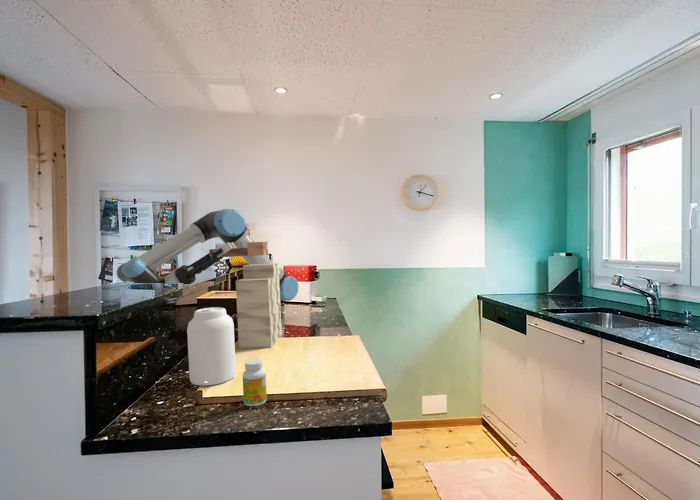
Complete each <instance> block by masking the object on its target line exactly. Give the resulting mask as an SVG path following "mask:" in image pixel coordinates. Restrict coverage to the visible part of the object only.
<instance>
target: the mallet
mask: <svg viewBox="0 0 700 500" xmlns="http://www.w3.org/2000/svg"><path fill="white" fill-rule="evenodd" d="M268 246H269V244H268V241H254V242H247V248H233V249H231V250H229V251H228V252H226V253H225V254H223V255H222V256H220V257H223V258H225V257H226V258H228V257H229V258H230V257H231V258H232V257H242V256H259V255H266V256H268V255H269V247H268ZM217 249H218V248H216V249H215V248H212V249H208V251H209V253H212V252H214V251H215V250H217ZM216 257H217V256H216Z"/></svg>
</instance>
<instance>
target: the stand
mask: <svg viewBox="0 0 700 500" xmlns="http://www.w3.org/2000/svg"><path fill="white" fill-rule="evenodd" d="M279 269H280V265H279V262H278V263H277V262H276V263H275V262H272V264H244V265H242V272H243V274H242V275H243V278H240V279H238V280H237V279H236V280H235V290H236V291H235V293H236V313H237V314H236V315H237V332H238V333H237V335H238V336H237V337H238V349H264V348H265V349H266V348H267V349H269V348H272V347H273V346H274V345H275V344H276V343H277V342H278V341H279V339H280V338H281V337H282V336H283V331H282V329H283V328H282V319H281V309H282V307H281V300H280V284H279Z"/></svg>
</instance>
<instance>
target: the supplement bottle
mask: <svg viewBox="0 0 700 500" xmlns="http://www.w3.org/2000/svg"><path fill="white" fill-rule="evenodd" d="M266 374H267V372H266V370H265V369H264V368H263V361H262V359H258V358H256V359H255V358H254V359H249V360H247V361H245V362H244V371H243V372H242V392H243V393H242V397H243V404H244V405H245V406H247V407H257V406H261V405H264V404H265V403H266V402H267V396H268V395H267V394H268V393H267V377H266Z"/></svg>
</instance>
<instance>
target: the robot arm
mask: <svg viewBox="0 0 700 500" xmlns="http://www.w3.org/2000/svg"><path fill="white" fill-rule="evenodd" d="M214 238H220V239H221V240H222V241H223V243H224V244H223V245H221V246H219V248H216V249H217V250H215V251H214V252H212V253H207V254H205V255H204V256H202V257H201V258H199V259H198V260H196V261H194V262H192V263H190V264H189V265H185V264H183V265H181V266H179V267H178V268H176V269H175V270H173V271H171V272H169V274H167V275H166V276H164V277H162V278H161V277H160V275H158V274H157V273H156V272H155V271H154V270H156V269H157V268H159V267H161V266H162V265H164V264H166V263H167V262H169V261H171V260H172V259H174V258H176V257H177V256H179V255H180V254H183V253H184V252H186V251H187V250H189V249H191V248H192V247H194V246H195V245H198V243H199V244H200V243H201V244H203V243H205V242H207V241H209V240H211V239H214ZM247 242H255V240H254V239H253V238H252V237H251V236H250V235H249V233H248V227H247V225H246V222H245V218H244V216H243V214H242V213H241V212H239V211H238V210H236V209H233V208H222V209H220V210H216V211H215V210H213V211H211V212H208V213H206V214H205V215H203V216H202V217H200V218H198V219H197V220H196V221H193V222H192V223H190V224H189V227H188V228H186V229H185V230H183V231H181V232H179V233H178V234H175V235H173V236H172V237H171V238H169V239H166V240H165V241H164V242H162V243H160V244H158V245H156V246H155V247H152V248H151V249H149V250H148V251H146V252H144V253H143V254H140V255H138V256H134V257H133V258H130V259H129V260H128V261H126V262H123V263H122V264H120V265H119V266H118V267H117V269H116V272H115V273H116V277H117V278H118V280H119V281H122V282H124V283H127V282H126V281H130V282H134V283H133V284H135V283H164V284H165V283H166V284H179V283H184V284H190V285H191V283H192V284H193V283H194V282H196V279H197V278H196V277H197V276H196V275H199V274H201V273H202V272H204V271H206V270H207V269H208V268H210V267H212V266H213V265H215V264H216V263H217V262H219V261H220V260H222V259H223V258H224V257H220V256H222V255H223V254H225V253H226V252H228V251H229V250H231V249H233V248H247ZM216 256H217V257H216ZM241 257H242V258H243V259H244V260H245V262H246V263H247V265H249V264H272V263H273V262H272V260H271V259H270V258H269V256H268V255H259V256H241ZM279 284H280V301H282V302H288V301H292V300H293V299H295V298H296V297H297V295H298V292H299V282H298V279H296V278H295V277H294V276H289V275H288V274H287V273H286V271H285V270H284V269H282V268H279ZM283 318H284V312H283V309H282V308H281V320H282V319H283Z"/></svg>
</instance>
